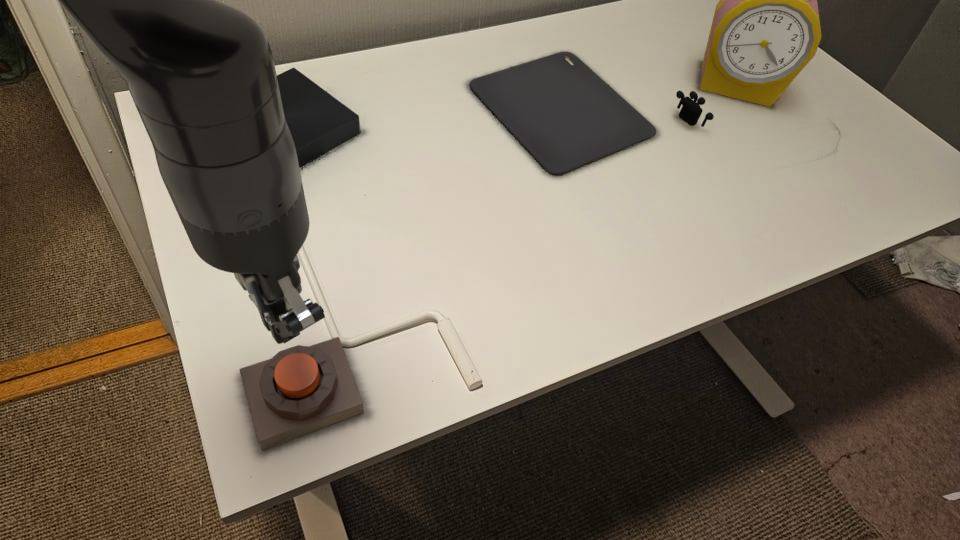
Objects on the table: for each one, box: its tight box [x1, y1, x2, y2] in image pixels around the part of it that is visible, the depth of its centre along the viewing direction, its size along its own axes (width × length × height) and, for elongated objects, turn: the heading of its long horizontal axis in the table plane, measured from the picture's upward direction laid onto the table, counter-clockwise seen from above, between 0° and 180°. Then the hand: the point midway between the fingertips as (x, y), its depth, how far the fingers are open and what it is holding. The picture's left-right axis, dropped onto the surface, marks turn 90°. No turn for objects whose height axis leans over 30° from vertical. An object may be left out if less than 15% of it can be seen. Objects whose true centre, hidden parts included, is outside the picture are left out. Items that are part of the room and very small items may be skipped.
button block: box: [239, 336, 365, 451], centre depth 60 cm, size 10×8×4 cm
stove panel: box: [277, 67, 361, 169], centre depth 81 cm, size 20×16×3 cm
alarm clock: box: [699, 0, 822, 108], centre depth 93 cm, size 15×8×18 cm, turn 74°
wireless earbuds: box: [675, 90, 715, 128], centre depth 91 cm, size 7×2×5 cm, turn 38°
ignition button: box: [274, 353, 320, 399], centre depth 58 cm, size 4×4×2 cm
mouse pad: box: [469, 51, 657, 176], centre depth 92 cm, size 23×20×1 cm
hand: (282, 328), depth 51 cm, fingers closed
